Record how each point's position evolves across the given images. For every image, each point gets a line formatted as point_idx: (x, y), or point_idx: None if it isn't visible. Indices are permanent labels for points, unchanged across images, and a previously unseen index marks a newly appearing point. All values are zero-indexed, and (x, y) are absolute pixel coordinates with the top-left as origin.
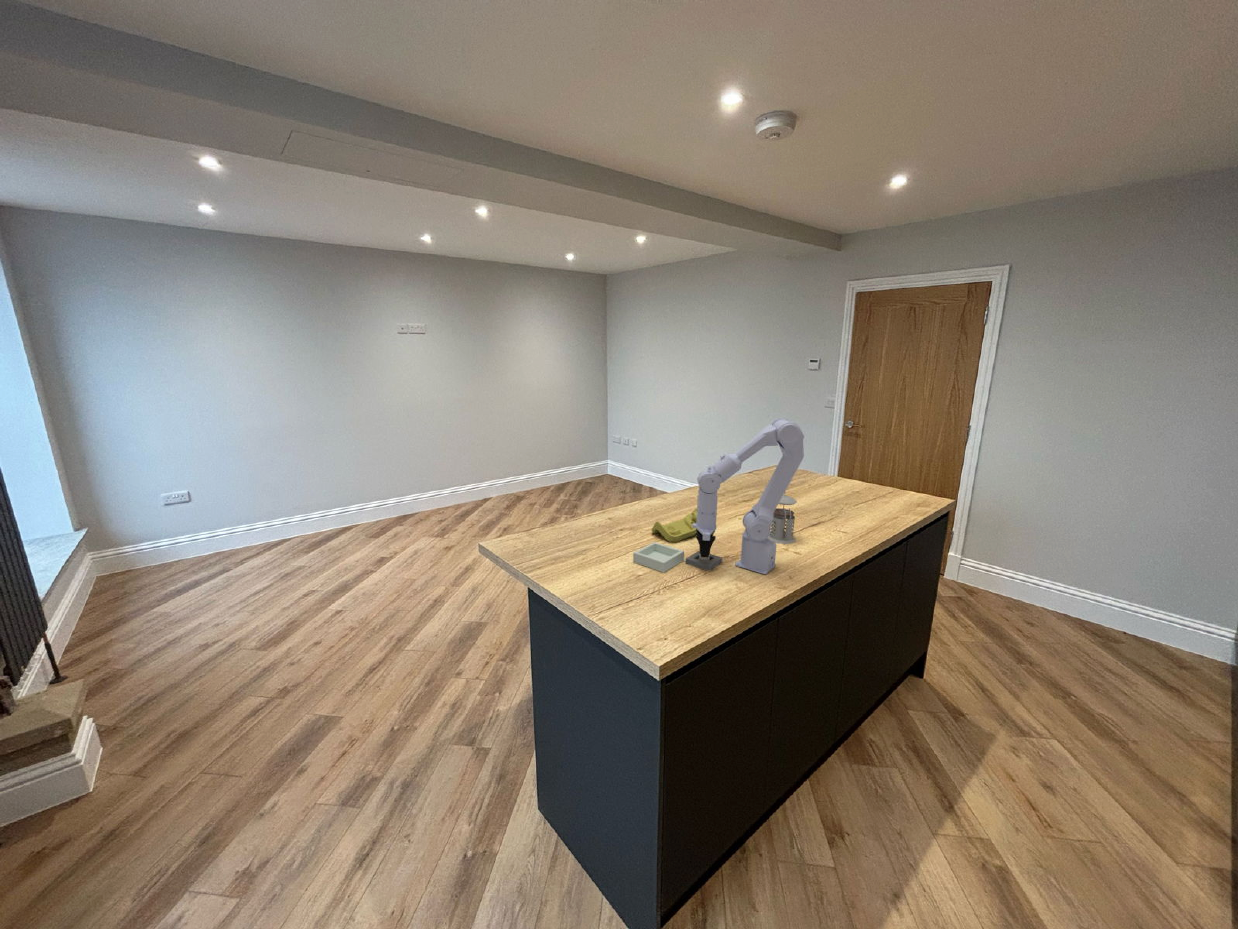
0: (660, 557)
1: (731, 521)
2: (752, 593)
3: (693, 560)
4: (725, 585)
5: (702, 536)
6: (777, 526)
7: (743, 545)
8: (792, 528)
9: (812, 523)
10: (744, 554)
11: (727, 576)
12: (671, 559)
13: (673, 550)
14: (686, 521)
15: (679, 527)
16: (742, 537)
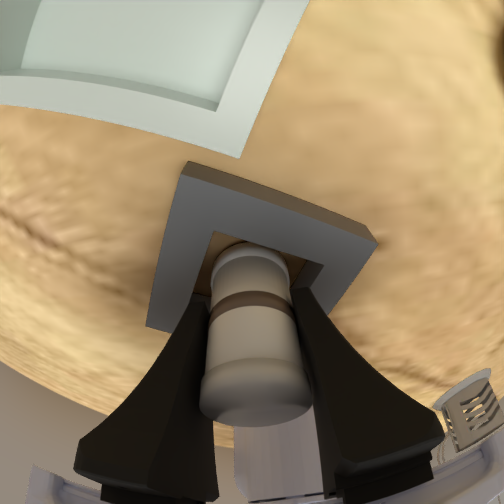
0: None
1: None
2: (94, 393)
3: (174, 237)
4: (80, 351)
5: (110, 486)
6: (464, 425)
7: (272, 469)
8: (452, 432)
9: (497, 393)
10: (260, 439)
11: (148, 359)
12: (30, 106)
13: (247, 38)
14: None
15: None
16: (296, 492)
